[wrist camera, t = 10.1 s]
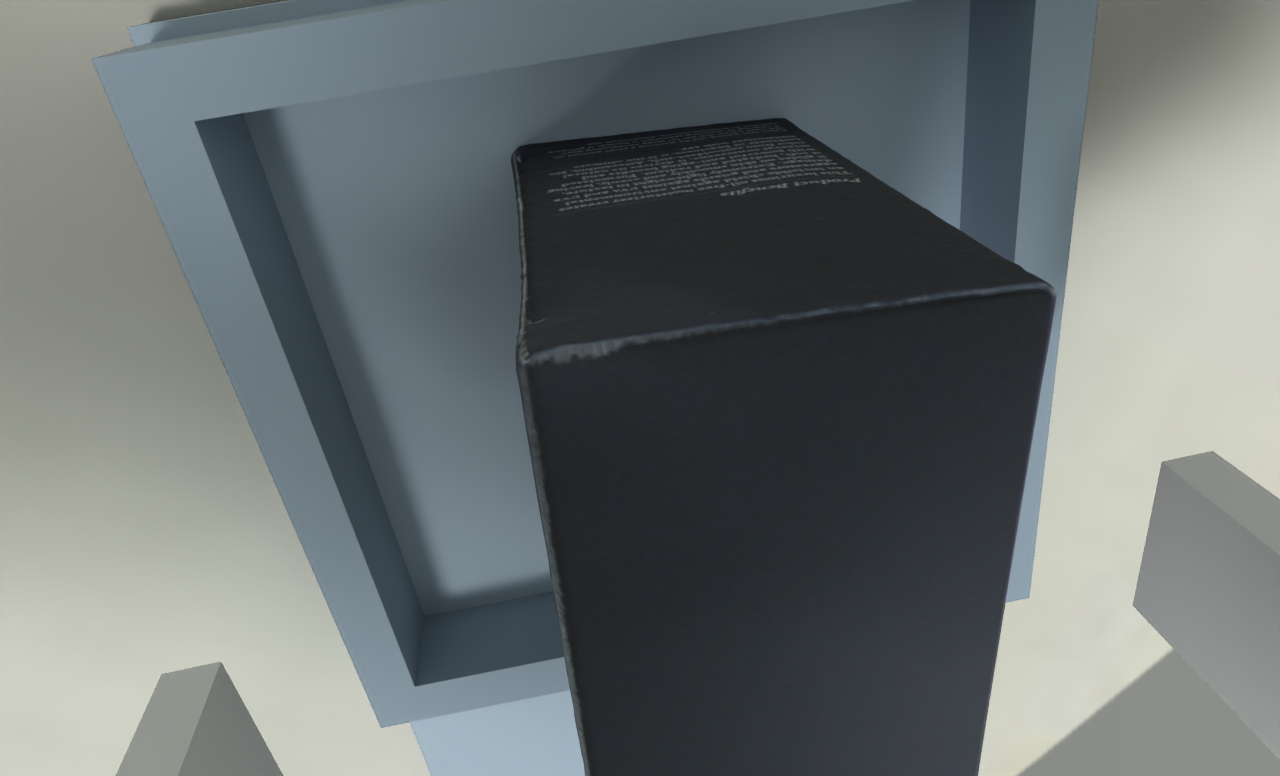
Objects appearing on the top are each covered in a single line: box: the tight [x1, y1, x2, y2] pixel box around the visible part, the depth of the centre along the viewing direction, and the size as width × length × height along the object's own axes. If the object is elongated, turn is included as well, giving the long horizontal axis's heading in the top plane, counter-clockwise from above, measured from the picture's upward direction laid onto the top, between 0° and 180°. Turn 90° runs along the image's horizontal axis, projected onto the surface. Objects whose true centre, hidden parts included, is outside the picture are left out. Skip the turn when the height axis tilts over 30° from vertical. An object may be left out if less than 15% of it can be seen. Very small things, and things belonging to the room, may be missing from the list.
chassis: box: [91, 0, 1098, 776], centre depth 22 cm, size 18×26×4 cm
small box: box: [511, 118, 1057, 776], centre depth 16 cm, size 11×6×10 cm, turn 5°
